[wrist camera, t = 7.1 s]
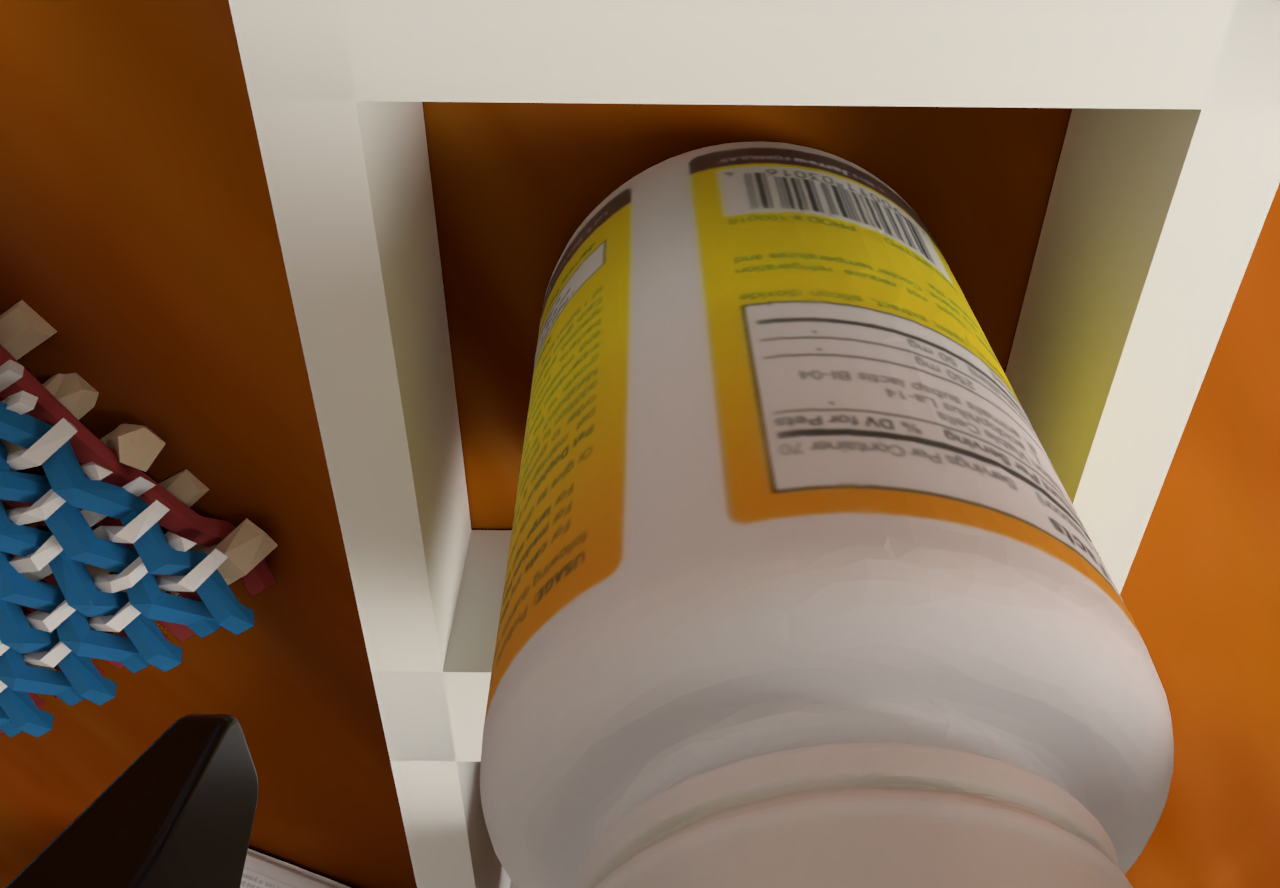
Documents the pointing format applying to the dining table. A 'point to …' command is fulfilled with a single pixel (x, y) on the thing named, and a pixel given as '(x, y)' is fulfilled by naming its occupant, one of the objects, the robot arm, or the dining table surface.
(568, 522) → the supplement bottle
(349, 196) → the grey divided tray
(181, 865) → the robot arm
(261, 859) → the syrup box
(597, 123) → the dining table surface
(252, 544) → the woven mat
